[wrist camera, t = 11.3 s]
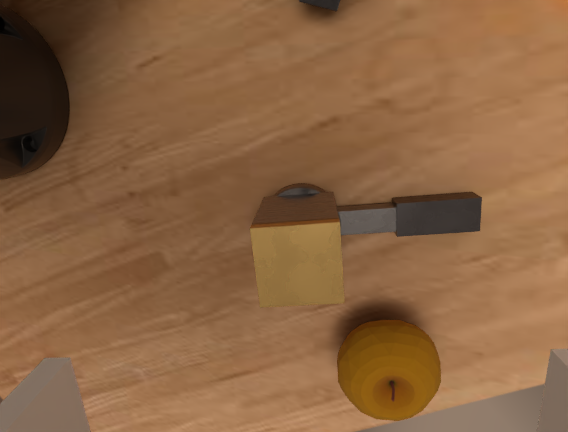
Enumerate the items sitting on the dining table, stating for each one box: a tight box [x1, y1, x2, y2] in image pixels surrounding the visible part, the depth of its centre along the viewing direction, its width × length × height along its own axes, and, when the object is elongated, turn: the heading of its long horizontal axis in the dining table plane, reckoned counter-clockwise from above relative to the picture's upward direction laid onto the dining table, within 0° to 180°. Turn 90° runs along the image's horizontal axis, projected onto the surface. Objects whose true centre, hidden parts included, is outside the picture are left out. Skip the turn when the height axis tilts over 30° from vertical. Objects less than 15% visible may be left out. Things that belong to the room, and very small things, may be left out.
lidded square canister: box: [250, 192, 344, 308], centre depth 31 cm, size 6×6×8 cm
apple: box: [337, 320, 441, 421], centre depth 35 cm, size 9×9×9 cm
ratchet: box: [274, 183, 482, 237], centre depth 33 cm, size 19×7×7 cm, turn 95°
